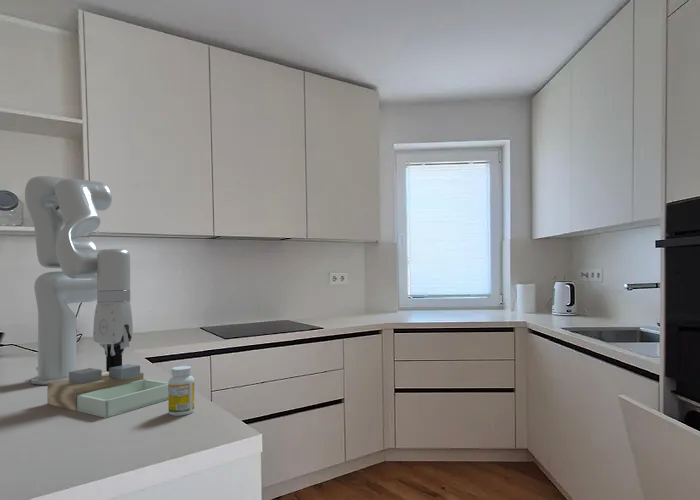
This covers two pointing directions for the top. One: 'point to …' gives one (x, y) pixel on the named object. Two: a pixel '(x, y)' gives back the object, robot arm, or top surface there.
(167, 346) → the top surface
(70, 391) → the board
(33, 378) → the robot arm
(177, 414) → the supplement bottle
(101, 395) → the tray
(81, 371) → the tile
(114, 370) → the tile
